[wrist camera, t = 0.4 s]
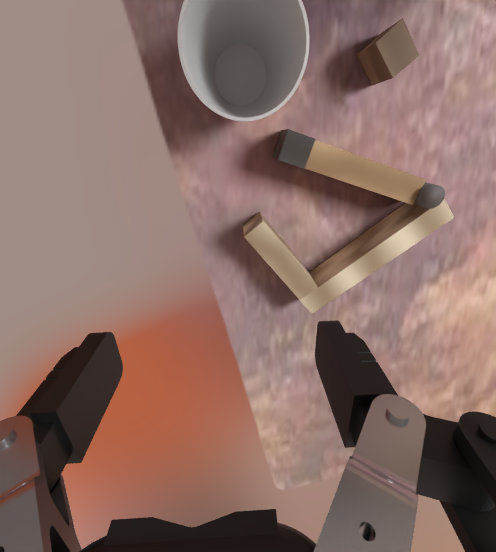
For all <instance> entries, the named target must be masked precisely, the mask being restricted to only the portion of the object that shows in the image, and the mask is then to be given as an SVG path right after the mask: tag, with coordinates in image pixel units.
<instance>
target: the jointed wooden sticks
mask: <svg viewBox="0 0 496 552" xmlns="http://www.w3.org/2000/svg"><path fill="white" fill-rule="evenodd" d="M356 56H357V58H358V60H359V62H360V64H361V66H362V68H363V70H364V72H365V74H366V76H367V77H368V79H369V81H370V83H371V85H375V84H378V83H380V82H383V81H386V80H388V79H391V78H393V77H394V76H396V75H397V74H398V73H399V72H400V71H401V70H403V69H404V68H405V67H406V66H407V65H408V64H410V63H411V62H412V61H413V60H414V59H416V58H417V57H418V56H419V54H418V52H417V49H416V47H415V45H414V42H413V40H412V38H411V36H410V33H409V31H408V29H407V26H406V24H405V22H404V20H403V18H402V19H401V20H400V21H398V22H397V23H395V24H394V25H392V26H391V27H390V28H388V29H387V30H385V31H384V32H382V33H381V34H379V35H378V36H377V37H376V38H375V39H374V40H373V41H372V42H371V43H369V44H368V45H367V46H366V47H365V48H364V49H363V50H362V51H361V52H360V53H358V54H357V55H356ZM453 218H454V217H453V215H452V213H451V211H450V209H449V207H448V205H447V203H446V201H445V199H443V201H442V203H441V204H440V205H439V206H437V207H435V208H432V209H428V208H425V207H422V206H419V205H417V204H413V205H411V204H408V203H405V204H403V205H402V206H401V207H399V208H398V209H396V210H395V211H394V212H392V213H391V214H390V215H388V216H387V217H385V218H384V219H383V220H381V221H380V222H378V223H377V224H376V225H374V226H373V227H372V228H370V229H369V230H367V231H366V232H365V233H363V234H362V235H360V236H359V237H358V238H356V239H355V240H354V241H352V242H351V243H349V244H348V245H347V246H345V247H344V248H343V249H341V250H340V251H338V252H337V253H336V254H334V255H333V256H331V257H330V258H329V259H327V260H326V261H325V262H323V263H322V264H320V265H319V266H318V267H316V268H315V269H313V270H312V271H311V272H309V271H308V270H307V269H306V268H305V267H304V265H303V264H302V263H301V262H300V260H299V259H298V258H297V257H296V256H295V254H294V253H293V252H292V251H291V249H290V248H289V247H288V246H287V245H286V243H285V242H284V241H283V240H282V238H281V237H280V236H279V235H278V234H277V232H276V231H275V230H274V229H273V227H272V226H271V225H270V224H269V223H268V221H267V220H266V219H265V218H264V217H263V215H262V214H261V213H260V212H259V213H258V214H257V215H255V216H254V217H253V218H252V219H251V220H249V221H248V222H247V223H246V224H244V225H243V233H244V237H245V239H246V240H247V241H248V242H249V243H250V244H251V245H252V247H253V248H254V249H255V250H256V251H257V252H258V253H259V254H260V256H261V257H262V258H263V259H264V260H265V261H266V262H267V264H268V265H269V266H270V267H271V268H272V269H273V270H274V271H275V273H276V274H277V275H278V276H279V277H280V278H281V279H282V280H283V282H284V283H285V284H286V285H287V286H288V287H289V288H290V290H291V291H292V292H293V293H294V294H295V295H296V296H297V297H298V299H299V300H300V301H301V302H302V303H303V304H304V305H305V307H306V308H307V309H308V310H309V311H310V312H311V313H314V312H315V311H317V310H318V309H320V308H321V307H323V306H324V305H326V304H327V303H329V302H330V301H332V300H333V299H335V298H336V297H338V296H339V295H341V294H342V293H344V292H345V291H346V290H348V289H349V288H351V287H352V286H354V285H355V284H357V283H358V282H360V281H361V280H363V279H364V278H366V277H367V276H369V275H370V274H372V273H373V272H375V271H376V270H377V269H379V268H380V267H382V266H383V265H385V264H386V263H388V262H389V261H391V260H392V259H394V258H395V257H397V256H398V255H400V254H401V253H403V252H404V251H406V250H407V249H409V248H410V247H411V246H413V245H414V244H416V243H417V242H419V241H420V240H422V239H423V238H425V237H426V236H428V235H429V234H431V233H432V232H434V231H435V230H437V229H438V228H440V227H441V226H442V225H444V224H445V223H447V222H448V221H450V220H451V219H453Z"/></svg>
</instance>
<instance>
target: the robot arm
mask: <svg viewBox="0 0 496 552" xmlns="http://www.w3.org/2000/svg"><path fill="white" fill-rule="evenodd" d="M315 360H316V366H317V369H318V372H319V375H320V378H321V381H322V383H323V386H324V389H325V392H326V395H327V398H328V401H329V403H330V406H331V409H332V412H333V415H334V418H335V421H336V423H337V426H338V429H339V432H340V435H341V438H342V441H343V443H344V446H345V448H346V447H355V450H354V452H353V455H352V457H351V456H350V458H349V460H348V462H347V464H346V467H345V470H344V472H343V475H342V478H341V480H340V483H339V485H338V488H337V491H336V494H335V497H334V499H333V501H332V504H331V507H330V510H329V513H328V515H327V517H326V521H325V523H324V525H323V528H322V531H321V533H320V536H319V539H318V542H317V544H315V543H314V542H313V541H312V540H311V539H309V538H308V537H307V536H305V535H304V534H302V533H301V532H299V531H297V530H296V529H294V528H291V527H289V526H287V525H284V524H280V523H277V516H276V509H270V510H256V511H241V512H234V513H231V514H229V515H226V516H224V517H221V518H219V519H216V520H213V521H211V522H208V523H205V524H203V525H200V526H197V527H192V528H191V527H186V526H183V525H179V524H175V523H171V522H168V521H164V520H161V519H157V518H153V517H149V518H134V519H119V520H112V521H111V524H110V527H109V531H108V533H107V536H105V537H102V538H101V539H99V540H97V541H95V542H93V543H91V544H90V545H88V546H87V547H85V548H84V549H81V546H80V544H79V542H78V539H77V536H76V533H75V529H74V524H73V520H72V515H71V511H70V506H69V502H68V497H67V493H66V488H65V484H64V480H63V476H62V475H61V473H62V471H63V469H64V467H65V465H66V464H68V463H81V462H82V460H83V458H84V456H85V453H86V451H87V449H88V447H89V445H90V443H91V441H92V439H93V436H94V434H95V432H96V430H97V428H98V426H99V424H100V422H101V419H102V417H103V415H104V413H105V411H106V409H107V407H108V405H109V403H110V400H111V398H112V396H113V394H114V392H115V390H116V388H117V386H118V383H119V381H120V379H121V376H122V371H123V365H122V360H121V357H120V354H119V350H118V347H117V344H116V340H115V337H114V335H113V333H111V332H103V333H90V334H88V335H87V337H86V338H85V340H84V341H83V342H82V344H81V345H80V346H79V347H75V348H73V349H72V350H71V351H70V352H68V353H67V354H66V355H64V356H63V357H62V358H61V359H60V360H59V362H58V363H57V364H56V365H55V367H54V368H53V371H51V372H50V373H49V374H48V376H47V377H46V380H44V381H43V382H42V383H41V385H40V386H39V387H38V389H37V390H36V391H35V392H34V394H33V395H32V396H31V398H30V399H29V400H28V401H27V403H26V404H25V405H24V406H23V408H22V409H21V410H20V412H19V413H18V414H17V415H16V416H14V417H10V418H7V419H4V420H2V421H0V552H411V545H412V539H413V533H414V526H415V519H416V512H417V505H418V494H419V495H423V496H426V497H430V498H433V499H436V500H440V502H441V504H442V506H443V508H444V510H445V512H446V514H447V516H448V518H449V520H450V522H451V524H452V526H453V528H454V530H455V532H456V534H457V536H458V538H459V540H460V542H461V544H462V546H463V548H464V550H465V552H496V417H493V416H491V415H488V414H485V413H481V412H467V413H465V414H463V415H462V416H461V417H460V420H459V422H458V423H457V422H453V421H448V420H444V419H439V418H434V417H430V416H427V415H424V414H422V412H421V411H420V410H419V408H418V407H417V406H415V405H414V404H413V403H412V402H410V401H409V400H407V399H405V398H403V397H400V396H398V395H397V393H396V391H395V390H394V388H393V387H392V385H391V383H390V382H389V380H388V379H387V377H386V375H385V374H384V372H383V371H382V369H381V367H380V366H379V364H378V363H377V362H376V359H375V358H374V356H373V355H372V353H371V351H370V350H369V348H368V347H367V345H366V343H365V342H364V341H363V340H362V339H361V338H359V337H358V336H357V335H356V334H354V333H345V331H344V329H343V327H342V325H341V324H340V322H339V321H319V322H318V325H317V336H316V347H315Z"/></svg>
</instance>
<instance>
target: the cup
mask: <svg viewBox="0 0 496 552" xmlns="http://www.w3.org/2000/svg"><path fill="white" fill-rule="evenodd" d="M178 50H179V56H180V61H181V65H182V68H183V71H184V74H185V76H186V79H187V81H188V83H189V85H190V86H191V88H192V90H193V91H194V93H195V94H196V95H197V97H198V98H199V99H200V100H201V101H202V102H203V103H204V104H205V105H206V106H207V107H208V108H209V109H211V110H212V111H214V112H215V113H217V114H219V115H221V116H223V117H225V118H228V119H231V120H236V121H254V120H258V119H261V118H264V117H267V116H269V115H271V114H272V113H274V112H276V111H277V110H278V109H280V108H281V107H282V106H283V105H284V104H285V103H286V102H287V101H288V100H289V99H290V98H291V96H292V95H293V94H294V92H295V90H296V89H297V87H298V85H299V83H300V81H301V79H302V77H303V74H304V71H305V68H306V64H307V60H308V54H309V25H308V19H307V15H306V11H305V8H304V5H303V2H302V0H184V3H183V6H182V9H181V13H180V17H179V23H178Z"/></svg>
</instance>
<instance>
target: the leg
mask: <svg viewBox="0 0 496 552" xmlns="http://www.w3.org/2000/svg"><path fill="white" fill-rule="evenodd" d="M273 158H275V159H277V160H279V161H282V162H285V163H288V164H291V165H294V166H297V167H300V168H303V169H308V170H311V171H314V172H317V173H320V174H323V175H326V176H328V177H331V178H334V179H337V180H340V181H343V182H346V183H349V184H352V185H355V186H358V187H361V188H364V189H367V190H370V191H373V192H376V193H379V194H382V195H385V196H388V197H390V198H393V199H396V200H399V201H402V202H405V203H408V204H411V205H413V204H417V205H419V206H422V207H425V208H428V209H432V208H435V207H437V206H439V205H440V204H441V203H442V201H443V199H444V197H445V191H444V189H443V188H442V187H441V186H439V185H434V184H430V183H426V179H423V178H420V177H417V176H414V175H412V174H409V173H406V172H403V171H401V170H398V169H395V168H392V167H389V166H387V165H384V164H381V163H378V162H376V161H373V160H370V159H367V158H364V157H362V156H359V155H356V154H353V153H351V152H348V151H345V150H342V149H339V148H337V147H334V146H331V145H328V144H326V143H323V142H320V141H317V140H315V139H314V138H311V137H308V136H305V135H303V134H300V133H297V132H294V131H292V130H289V129H287V130H281V132H280V135H279V138H278V141H277V145H276V148H275V151H274V154H273Z"/></svg>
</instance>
